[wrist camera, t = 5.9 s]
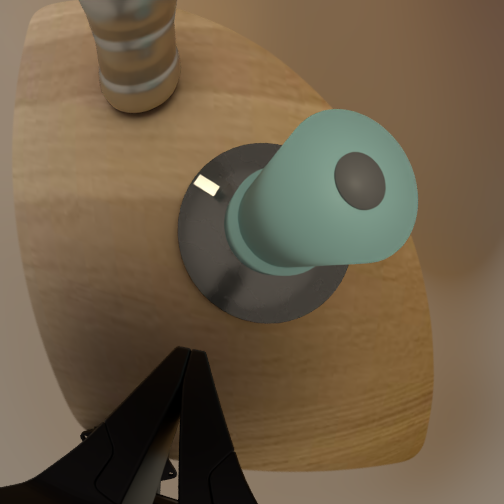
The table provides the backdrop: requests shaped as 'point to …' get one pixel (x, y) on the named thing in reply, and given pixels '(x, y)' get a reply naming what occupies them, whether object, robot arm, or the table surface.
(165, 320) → the table surface
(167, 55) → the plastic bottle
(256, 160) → the turntable
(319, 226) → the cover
